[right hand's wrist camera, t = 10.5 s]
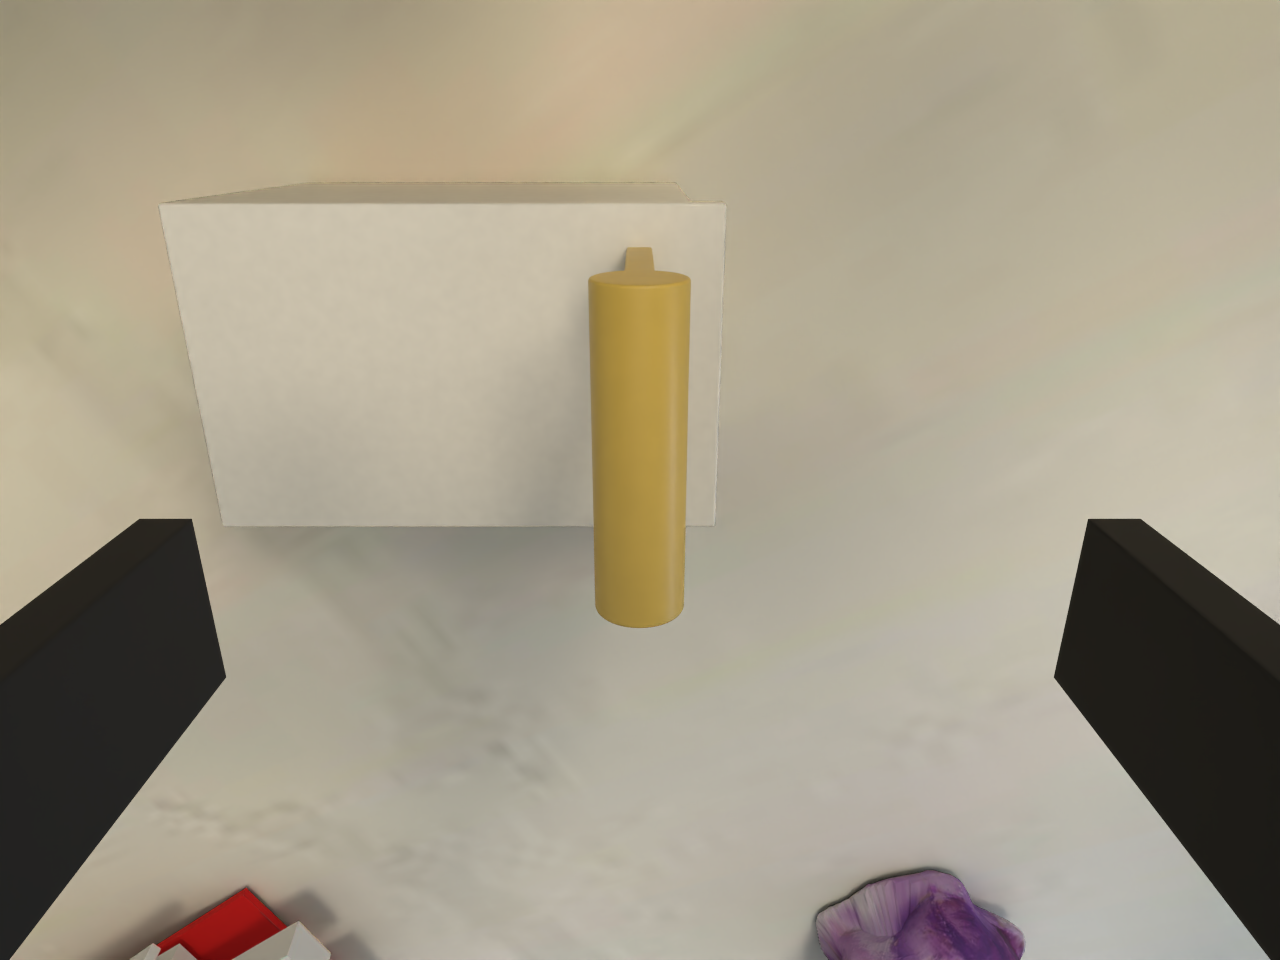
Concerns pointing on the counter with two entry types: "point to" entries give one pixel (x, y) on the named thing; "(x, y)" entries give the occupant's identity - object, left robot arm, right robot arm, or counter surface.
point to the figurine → (916, 923)
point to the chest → (460, 192)
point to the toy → (238, 936)
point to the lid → (463, 370)
